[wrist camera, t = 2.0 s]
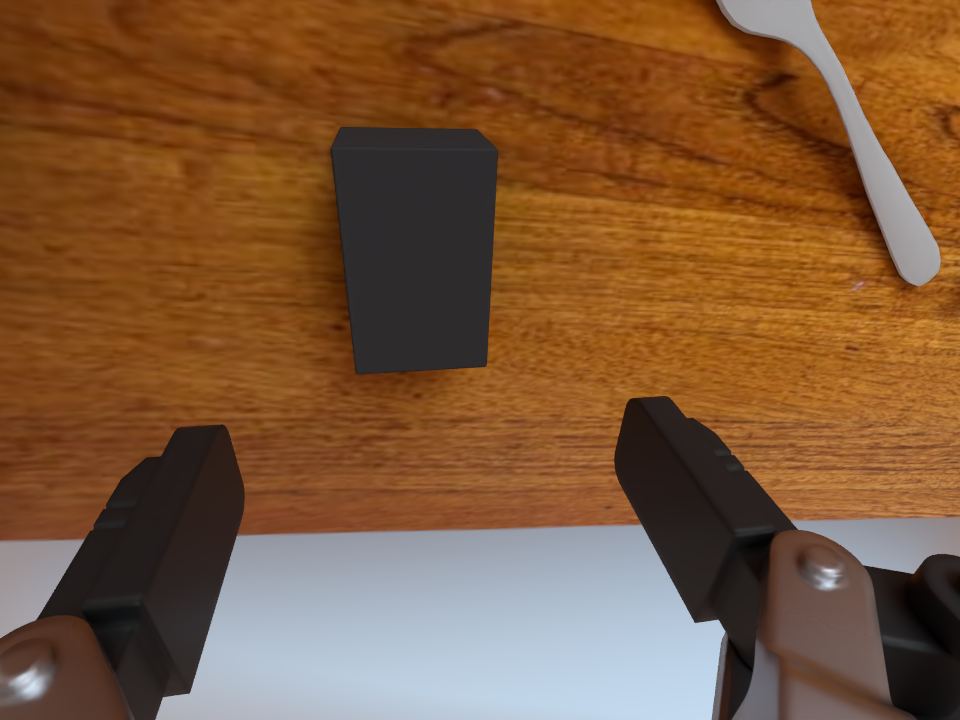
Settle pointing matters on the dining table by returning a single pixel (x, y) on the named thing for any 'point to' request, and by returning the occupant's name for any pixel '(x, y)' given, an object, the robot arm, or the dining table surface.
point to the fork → (848, 131)
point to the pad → (416, 245)
